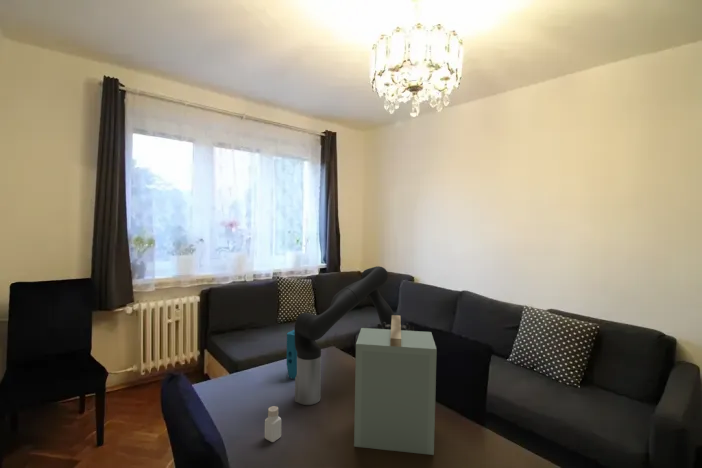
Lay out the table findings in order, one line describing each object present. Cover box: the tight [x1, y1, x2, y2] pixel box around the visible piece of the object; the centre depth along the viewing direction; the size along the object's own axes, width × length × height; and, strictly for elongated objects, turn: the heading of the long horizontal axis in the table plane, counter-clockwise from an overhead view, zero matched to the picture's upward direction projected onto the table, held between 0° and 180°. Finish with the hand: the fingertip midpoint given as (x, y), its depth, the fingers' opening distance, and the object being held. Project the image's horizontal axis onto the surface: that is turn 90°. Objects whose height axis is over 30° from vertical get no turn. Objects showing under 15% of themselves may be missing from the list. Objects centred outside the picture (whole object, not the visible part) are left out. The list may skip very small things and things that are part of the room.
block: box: [286, 329, 297, 380], centre depth 154 cm, size 12×5×20 cm, turn 153°
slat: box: [390, 314, 402, 347], centre depth 115 cm, size 3×26×2 cm, turn 172°
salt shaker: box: [264, 405, 282, 443], centre depth 109 cm, size 4×4×10 cm
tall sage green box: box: [353, 327, 438, 456], centre depth 111 cm, size 24×16×32 cm, turn 82°
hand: (395, 325), depth 129 cm, fingers open, 8 cm apart
